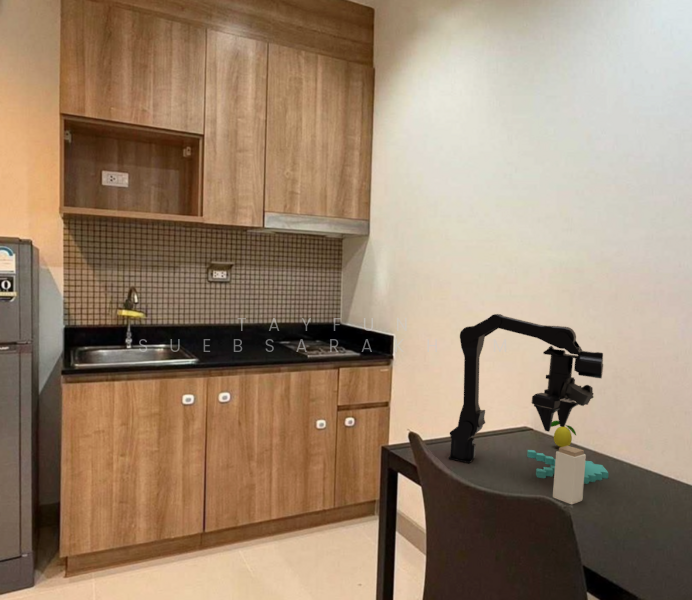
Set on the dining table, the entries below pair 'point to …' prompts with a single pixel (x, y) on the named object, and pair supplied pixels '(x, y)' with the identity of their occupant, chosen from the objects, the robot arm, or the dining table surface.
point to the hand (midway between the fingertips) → (554, 428)
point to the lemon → (562, 435)
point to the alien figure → (590, 473)
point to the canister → (569, 474)
